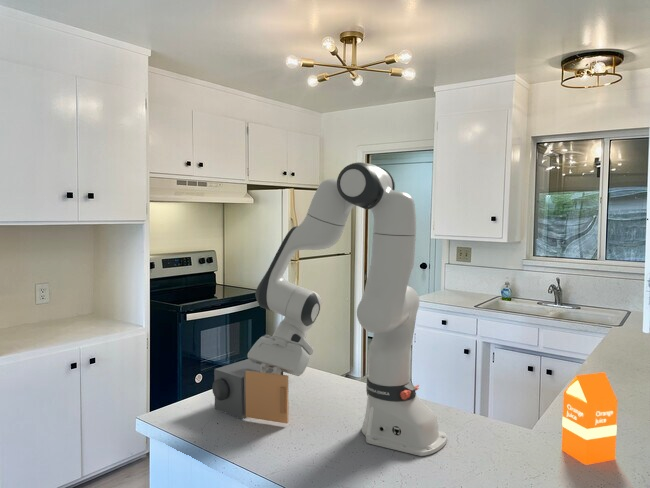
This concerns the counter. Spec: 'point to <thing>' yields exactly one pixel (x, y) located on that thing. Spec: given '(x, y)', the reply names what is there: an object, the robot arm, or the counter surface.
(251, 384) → the side door
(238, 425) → the counter surface
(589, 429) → the orange juice
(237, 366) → the camera box
